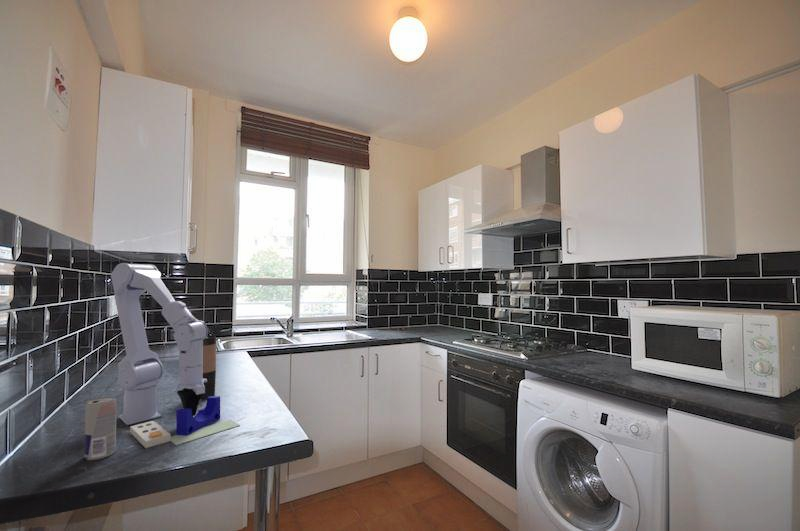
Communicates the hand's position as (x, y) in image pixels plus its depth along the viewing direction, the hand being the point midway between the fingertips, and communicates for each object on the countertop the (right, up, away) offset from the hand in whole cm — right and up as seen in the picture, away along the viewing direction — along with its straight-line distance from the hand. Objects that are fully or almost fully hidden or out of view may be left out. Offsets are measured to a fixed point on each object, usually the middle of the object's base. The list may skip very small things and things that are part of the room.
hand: (190, 415), depth 98 cm
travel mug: (-9, -3, +22) cm, 24 cm away
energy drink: (-9, -1, -19) cm, 21 cm away
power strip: (-5, -1, -9) cm, 10 cm away
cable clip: (+4, -2, -3) cm, 5 cm away
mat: (+8, -1, -7) cm, 11 cm away
